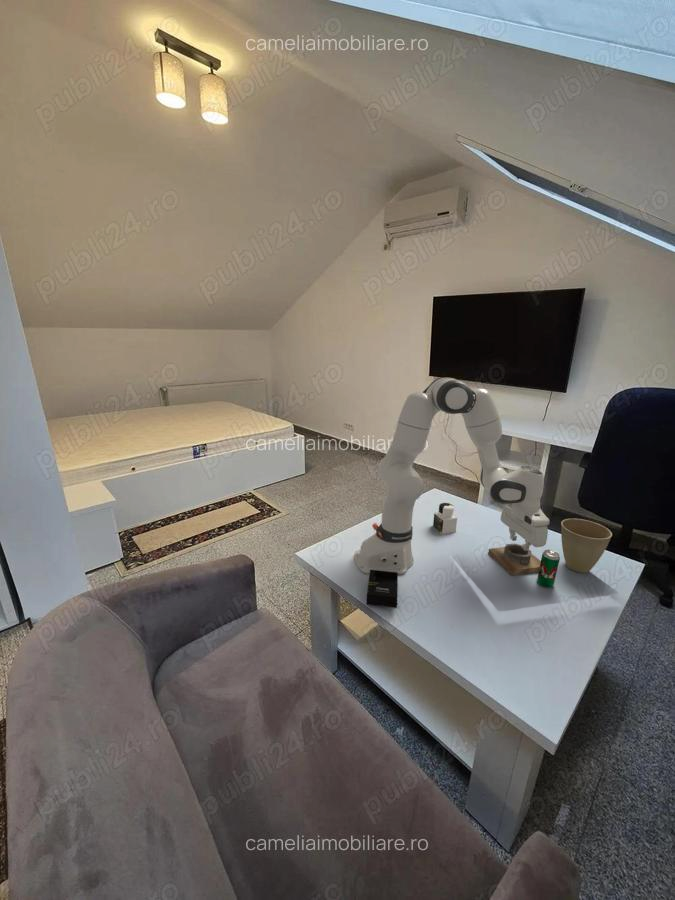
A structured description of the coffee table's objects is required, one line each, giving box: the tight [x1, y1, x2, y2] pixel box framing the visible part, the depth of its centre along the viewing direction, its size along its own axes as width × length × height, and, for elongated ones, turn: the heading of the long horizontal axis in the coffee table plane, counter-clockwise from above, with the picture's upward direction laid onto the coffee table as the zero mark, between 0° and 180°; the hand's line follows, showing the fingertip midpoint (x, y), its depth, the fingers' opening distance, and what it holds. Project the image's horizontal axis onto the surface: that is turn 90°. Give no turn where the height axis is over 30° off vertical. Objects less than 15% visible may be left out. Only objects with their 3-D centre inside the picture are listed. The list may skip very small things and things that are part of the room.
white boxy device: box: [432, 502, 458, 535], centre depth 155 cm, size 7×7×12 cm
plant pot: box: [560, 518, 613, 574], centre depth 129 cm, size 15×15×16 cm
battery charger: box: [366, 570, 399, 609], centre depth 117 cm, size 13×10×4 cm
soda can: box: [536, 549, 561, 588], centre depth 120 cm, size 5×5×12 cm
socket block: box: [487, 543, 541, 576], centre depth 134 cm, size 14×14×5 cm
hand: (518, 544), depth 132 cm, fingers open, 5 cm apart
